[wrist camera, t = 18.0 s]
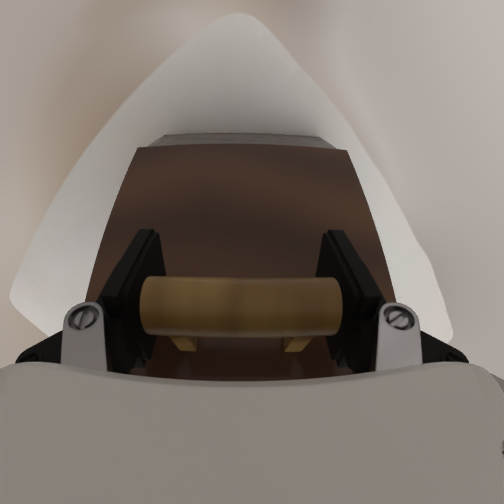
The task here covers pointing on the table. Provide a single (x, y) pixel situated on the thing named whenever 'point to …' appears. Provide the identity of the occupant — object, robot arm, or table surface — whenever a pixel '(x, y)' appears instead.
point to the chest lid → (240, 257)
